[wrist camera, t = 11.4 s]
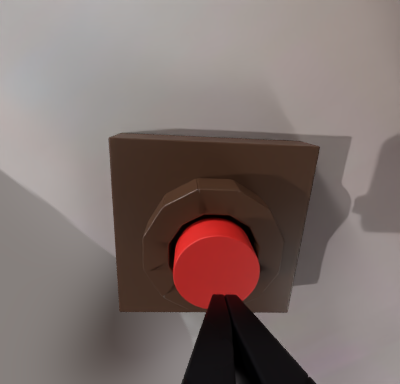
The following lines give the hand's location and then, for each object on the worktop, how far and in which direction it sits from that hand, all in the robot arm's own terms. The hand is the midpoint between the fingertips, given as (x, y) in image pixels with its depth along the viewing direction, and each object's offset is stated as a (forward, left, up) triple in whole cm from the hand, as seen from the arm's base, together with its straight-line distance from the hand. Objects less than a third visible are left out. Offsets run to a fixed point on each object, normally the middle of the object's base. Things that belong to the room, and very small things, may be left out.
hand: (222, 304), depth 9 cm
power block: (0, 0, -7) cm, 7 cm away
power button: (0, 0, -3) cm, 3 cm away
